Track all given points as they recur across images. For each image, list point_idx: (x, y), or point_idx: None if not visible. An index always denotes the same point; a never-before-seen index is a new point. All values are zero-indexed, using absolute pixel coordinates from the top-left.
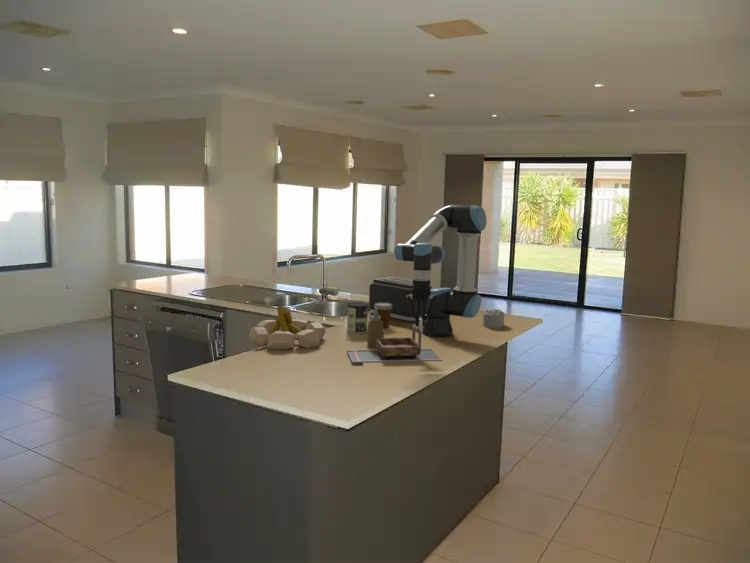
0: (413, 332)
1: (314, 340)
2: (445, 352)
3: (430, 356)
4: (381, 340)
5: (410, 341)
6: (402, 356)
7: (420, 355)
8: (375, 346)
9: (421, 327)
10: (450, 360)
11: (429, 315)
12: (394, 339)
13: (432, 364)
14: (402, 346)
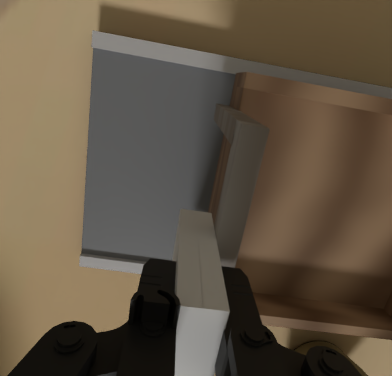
0: None
1: None
2: (12, 225)
3: (135, 134)
4: (376, 320)
5: None
6: None
7: (184, 167)
8: (332, 347)
9: (189, 242)
10: (29, 69)
11: (32, 353)
12: (303, 315)
13: (169, 13)
14: (281, 233)
